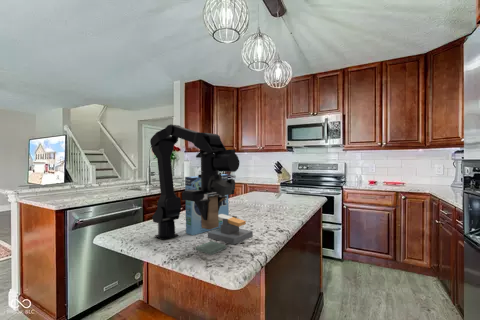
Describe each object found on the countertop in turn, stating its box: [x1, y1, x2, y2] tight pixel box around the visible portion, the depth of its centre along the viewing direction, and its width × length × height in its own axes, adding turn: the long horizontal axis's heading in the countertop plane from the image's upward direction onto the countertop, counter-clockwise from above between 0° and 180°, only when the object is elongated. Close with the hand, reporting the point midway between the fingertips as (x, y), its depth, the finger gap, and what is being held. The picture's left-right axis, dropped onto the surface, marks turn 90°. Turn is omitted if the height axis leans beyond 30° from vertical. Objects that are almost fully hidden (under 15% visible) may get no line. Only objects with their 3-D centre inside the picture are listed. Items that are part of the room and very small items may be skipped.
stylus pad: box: [195, 240, 227, 256], centre depth 78 cm, size 7×7×1 cm
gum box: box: [184, 173, 230, 236], centre depth 101 cm, size 20×5×23 cm, turn 134°
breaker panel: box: [207, 215, 254, 245], centre depth 90 cm, size 13×11×7 cm
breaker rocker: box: [218, 214, 247, 228], centre depth 90 cm, size 12×4×1 cm, turn 51°
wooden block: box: [201, 196, 219, 229], centre depth 78 cm, size 4×4×10 cm
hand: (210, 218), depth 78 cm, fingers closed on wooden block, 4 cm apart
